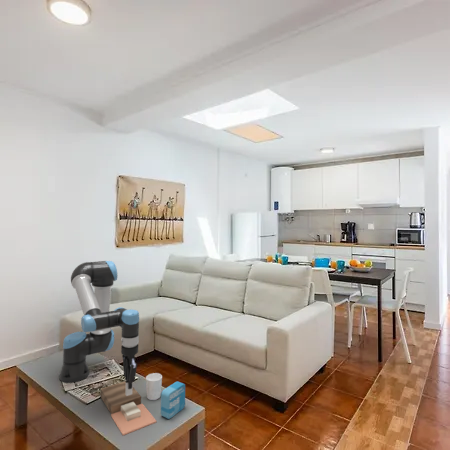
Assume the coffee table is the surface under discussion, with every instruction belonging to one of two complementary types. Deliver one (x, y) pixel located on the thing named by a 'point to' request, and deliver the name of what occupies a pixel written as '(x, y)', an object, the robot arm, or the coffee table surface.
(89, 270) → the robot arm
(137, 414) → the birch tile
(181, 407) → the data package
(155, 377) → the white cup
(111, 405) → the block
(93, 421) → the coffee table surface
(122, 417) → the terracotta mat
